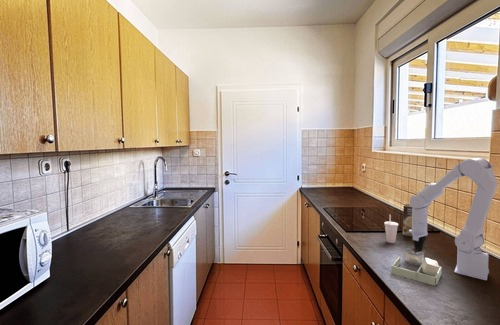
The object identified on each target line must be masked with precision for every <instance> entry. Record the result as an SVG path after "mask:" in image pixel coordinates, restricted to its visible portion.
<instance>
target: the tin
mask: <svg viewBox="0 0 500 325" xmlns="http://www.w3.org/2000/svg"><path fill="white" fill-rule="evenodd" d="M424 258H425V253H424V251H421V250H418V249H415V248H406V249H405V263H407V264H408V265H411V266H415V267H420V266H421V265H422V263H423V261H424Z"/></svg>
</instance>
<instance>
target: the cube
mask: <svg viewBox="0 0 500 325" xmlns="http://www.w3.org/2000/svg"><path fill="white" fill-rule="evenodd" d="M439 266H440V265H439V263H438V261H437V260H435V259H431V258H429V257H424V261H423V263H422V269H423V272H424V273H427V274H430V275H433V276H436V274H437V272H438V270H439V268H440V267H441V266H440V267H439ZM423 272H422V273H423Z"/></svg>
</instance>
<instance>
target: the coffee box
mask: <svg viewBox="0 0 500 325" xmlns="http://www.w3.org/2000/svg"><path fill="white" fill-rule="evenodd" d="M402 209H403V213H402V235H403V236H408V237H411V236H412V233H411V232H409V230H412V206H411V205H410V203H405V204H404V205H403V208H402Z"/></svg>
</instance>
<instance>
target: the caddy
mask: <svg viewBox="0 0 500 325" xmlns="http://www.w3.org/2000/svg"><path fill="white" fill-rule="evenodd" d="M400 265H401V256H399V257H398V258H397V259H396V260H395V261H394V262H393V264H392V265H390V266H391V267H390V268H391V272H390V273H391V274H393V275H395V276H400V277H404V278H407V279H409V280H414V281H418V282H421V283H424V284H427V285H431V286H434V287H436V286H437V284H438V283H439V280H440V278H441V276H442V266H440V265H439V267H440V268H439V270H438V272H437V274H436V276H435V277H433V276H429V275H426V274H422V273H423V269H422V265H421V266H419V268H418V269H417V271H414V270H410V269H406V268H403V267H399V266H400Z"/></svg>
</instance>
